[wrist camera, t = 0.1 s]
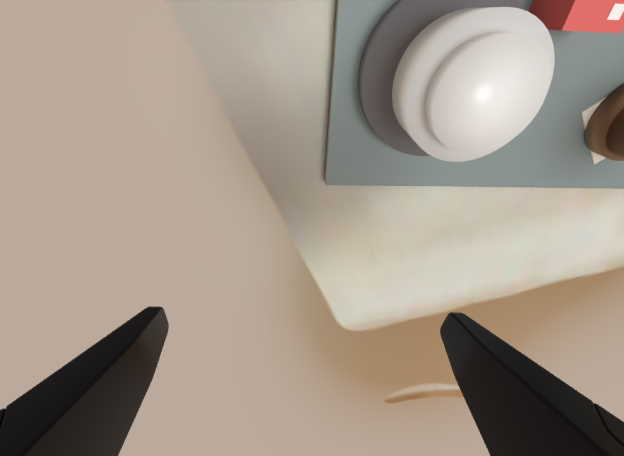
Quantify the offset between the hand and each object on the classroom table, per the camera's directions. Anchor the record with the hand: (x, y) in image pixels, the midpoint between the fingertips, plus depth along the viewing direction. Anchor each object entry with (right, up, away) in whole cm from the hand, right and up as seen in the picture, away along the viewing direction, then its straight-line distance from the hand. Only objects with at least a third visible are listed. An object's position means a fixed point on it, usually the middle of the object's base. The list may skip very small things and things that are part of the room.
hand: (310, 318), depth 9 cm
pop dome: (+7, +10, +6) cm, 14 cm away
